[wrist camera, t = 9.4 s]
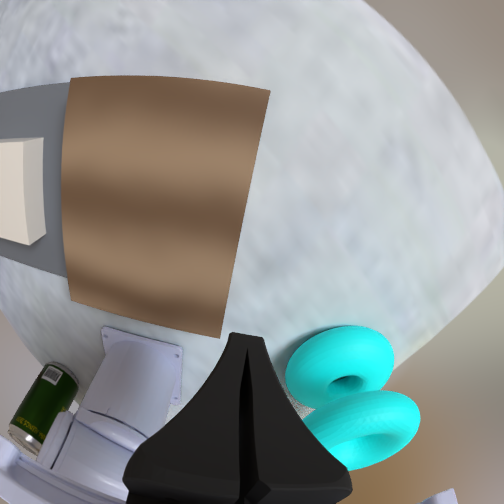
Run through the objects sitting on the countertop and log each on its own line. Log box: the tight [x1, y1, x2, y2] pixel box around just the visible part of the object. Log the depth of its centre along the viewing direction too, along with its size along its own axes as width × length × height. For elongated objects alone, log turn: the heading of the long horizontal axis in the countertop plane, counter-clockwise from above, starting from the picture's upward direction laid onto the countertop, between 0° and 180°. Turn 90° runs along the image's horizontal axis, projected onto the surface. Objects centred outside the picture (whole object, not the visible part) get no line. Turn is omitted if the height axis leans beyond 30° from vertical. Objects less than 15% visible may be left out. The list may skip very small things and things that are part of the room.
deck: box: [61, 76, 270, 339], centre depth 17 cm, size 16×12×3 cm
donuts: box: [285, 326, 420, 471], centre depth 20 cm, size 10×10×10 cm
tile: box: [0, 137, 46, 245], centre depth 16 cm, size 8×7×2 cm
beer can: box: [8, 362, 79, 456], centre depth 23 cm, size 5×5×12 cm
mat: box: [0, 82, 70, 278], centre depth 18 cm, size 16×14×1 cm
